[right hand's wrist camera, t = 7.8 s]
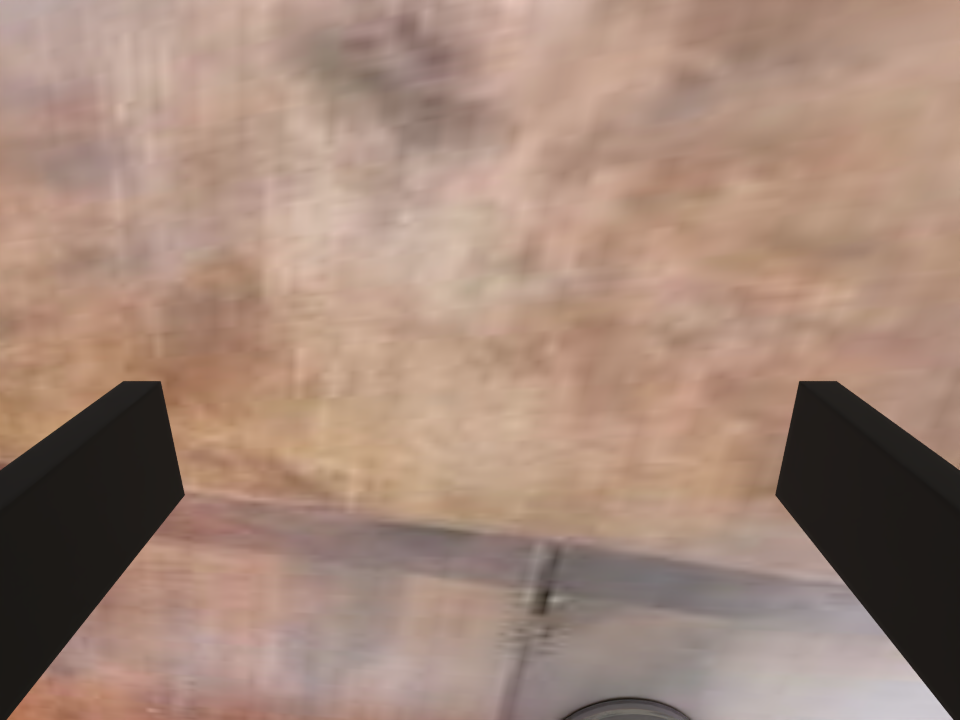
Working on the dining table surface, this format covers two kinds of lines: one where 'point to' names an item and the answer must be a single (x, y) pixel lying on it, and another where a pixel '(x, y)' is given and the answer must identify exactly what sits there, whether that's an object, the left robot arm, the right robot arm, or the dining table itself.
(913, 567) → the right robot arm
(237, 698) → the dining table surface
